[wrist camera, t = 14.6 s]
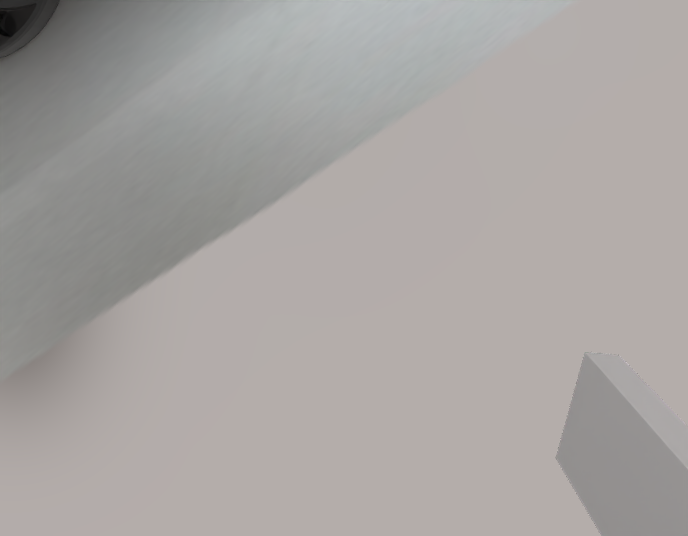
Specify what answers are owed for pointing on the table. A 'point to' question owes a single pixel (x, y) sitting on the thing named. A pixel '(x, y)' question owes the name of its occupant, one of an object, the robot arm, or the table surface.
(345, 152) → the table surface
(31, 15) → the robot arm
